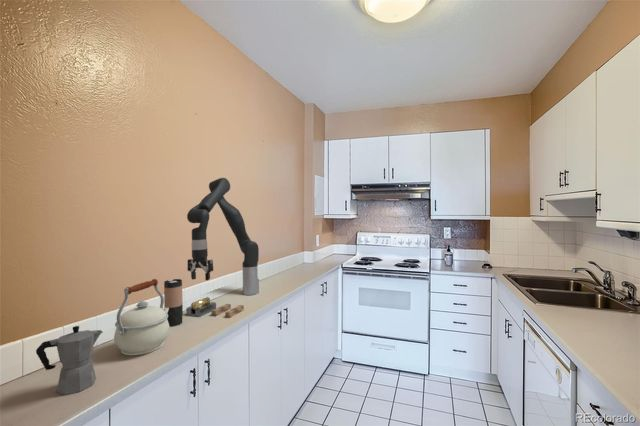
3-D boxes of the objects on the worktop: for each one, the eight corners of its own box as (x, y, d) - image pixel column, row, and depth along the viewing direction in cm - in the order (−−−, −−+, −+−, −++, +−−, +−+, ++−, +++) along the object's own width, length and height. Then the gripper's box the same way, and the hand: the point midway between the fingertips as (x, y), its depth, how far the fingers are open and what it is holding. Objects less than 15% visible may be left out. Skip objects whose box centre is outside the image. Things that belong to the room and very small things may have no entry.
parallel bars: (226, 308, 162) (226, 303, 162) (243, 310, 158) (243, 305, 158) (211, 315, 150) (211, 310, 150) (229, 317, 147) (229, 313, 147)
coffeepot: (100, 371, 99) (99, 316, 99) (107, 382, 92) (106, 323, 92) (35, 392, 87) (34, 331, 87) (38, 406, 81) (37, 340, 81)
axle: (204, 303, 161) (204, 296, 161) (210, 304, 160) (210, 297, 160) (190, 309, 152) (191, 301, 152) (196, 310, 150) (196, 303, 150)
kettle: (141, 363, 104) (140, 291, 103) (97, 359, 107) (95, 289, 107) (187, 334, 128) (186, 275, 128) (150, 331, 132) (149, 274, 132)
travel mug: (178, 326, 137) (177, 282, 136) (161, 326, 137) (160, 282, 137) (185, 320, 144) (185, 278, 144) (170, 320, 144) (169, 279, 144)
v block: (203, 307, 163) (202, 301, 163) (216, 309, 160) (216, 302, 160) (186, 315, 152) (186, 308, 152) (200, 316, 149) (200, 309, 149)
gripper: (182, 249, 153) (184, 280, 154) (206, 249, 149) (207, 282, 149) (193, 247, 161) (194, 277, 161) (215, 247, 156) (217, 278, 156)
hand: (200, 279), depth 155 cm, fingers open, 8 cm apart
